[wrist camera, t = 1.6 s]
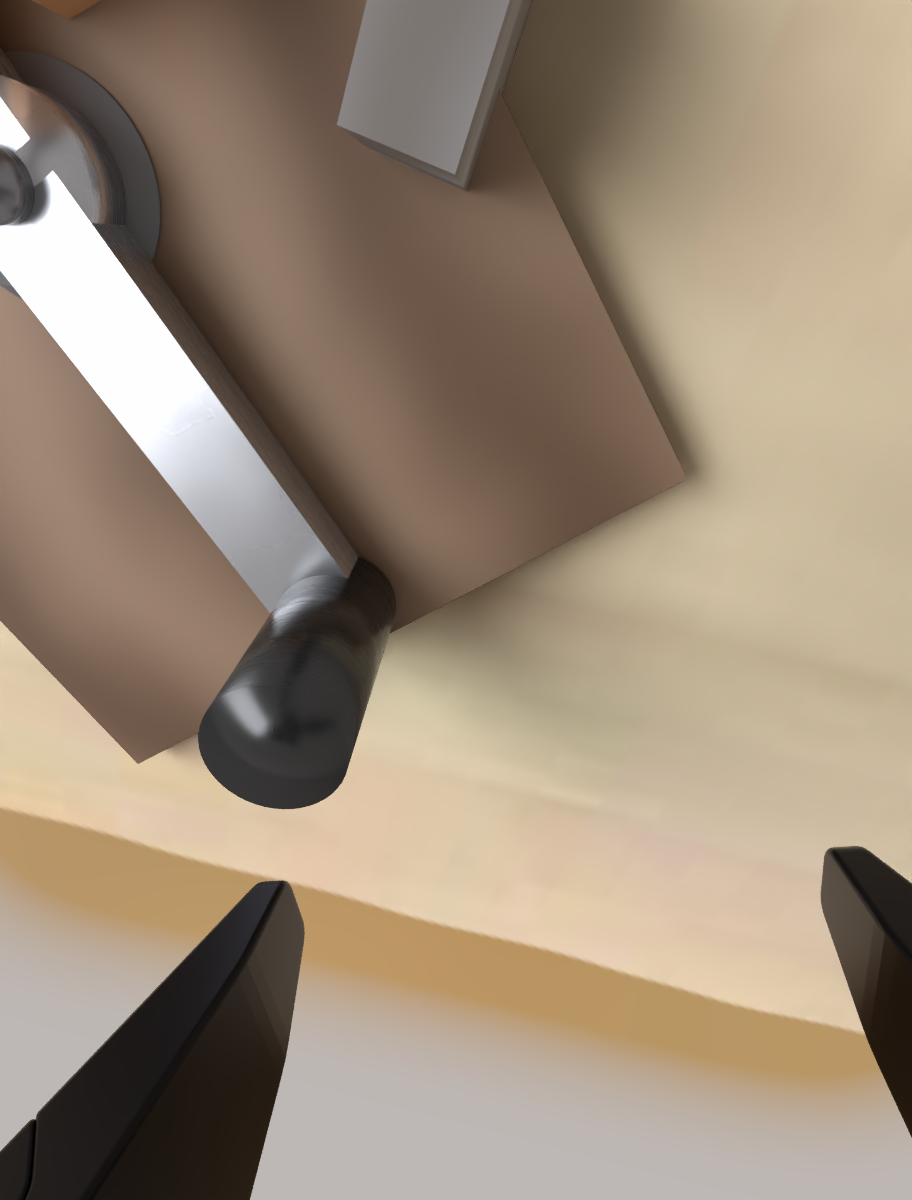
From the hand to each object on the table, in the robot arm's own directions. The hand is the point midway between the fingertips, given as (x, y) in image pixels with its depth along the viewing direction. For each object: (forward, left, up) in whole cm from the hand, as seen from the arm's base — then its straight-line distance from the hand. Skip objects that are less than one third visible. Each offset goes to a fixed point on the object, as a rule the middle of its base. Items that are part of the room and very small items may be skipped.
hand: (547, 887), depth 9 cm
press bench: (+3, -9, -11) cm, 14 cm away
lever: (+5, -9, -10) cm, 14 cm away
